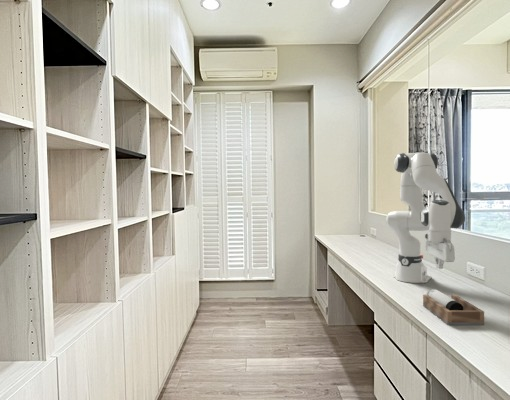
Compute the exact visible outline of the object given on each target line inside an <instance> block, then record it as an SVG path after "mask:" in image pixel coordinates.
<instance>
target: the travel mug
mask: <svg viewBox="0 0 510 400" xmlns="http://www.w3.org/2000/svg"><path fill="white" fill-rule="evenodd" d="M426 295H428V296H430V297H431V298H432V299H434V300H435V301H437V302H438V303H440V304H441V305H443V306H444V307H446V308H447V309H448V310H463V306H462V305H461V304H460V303H458V302H457V301H455V300H453V299H452V298H451V296H448V295H446V294H445V293H443V292H441V291H440V290H438V289H437V288H431V289H430V290H428V291H427V292H426Z"/></svg>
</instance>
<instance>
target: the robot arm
mask: <svg viewBox="0 0 510 400" xmlns="http://www.w3.org/2000/svg"><path fill="white" fill-rule="evenodd" d="M438 165H439V158H438V156H437V155H436V154H435V153H433V152H432V153H431V152H428V153H427V152H423V151H421V152H408V153H406V152H405V153H404V152H402V153H398V154H397V155H396V156H395V158H394V159H393V166H394V170H395V171H396V173H397V172H398V173H400V174H401V175H400V183H399V185H400V186H399V200H400V201H401V203H403V204H405V205H406V206H409V208H410V210H394V211H389V213H388V214H386V217H385V222H386V225H387V227H388V228H389V229H390V230H392V231H393V232H394V234H395V235H396V238H397V241H398V250H399V251H398V256H397V260H398V261H397V262H396V265H395V274H393V275H392V276H393V278H395V279H396V280H397V281H399V282H403V283H410V284H411V283H413V284H414V283H416V284H419V283H422V284H424V283H428V282H429V281H430V279H431V278H432V275H431V274H428V268H427V266H426V265H425V264H424V263H423V260H422V259H424V255H423V254H421V241H420V240H419V239H418V238H417V237H415V236H413V235H411V233H410V231H414V232H426V233H424V239H425V240H424V241H425V242H424V243H425V244H424V245H425V246H424V247H425V252H426V254H427V255H430V256H431V257H434V262H435V267H436V268H437V269H440V270H442V269H444V264H445V263H454V262H455V260H456V256H455V246H454V244H453V243H452V229H458V228H461V227H462V226H463V224H464V223H465V222H466V215H465V212H464V210H463V208H462V207H461V206H460V204H459V202H458V200H457V198H456V196H455V193H454V192H453V190H452V188H451V186H450V185H449V183H448V181H447V180H446V179H445V178H443V177H441V175H440V174H439V173H438V171H437V169H438ZM422 190H425V191H429V192H433V193H435V194H437V195H439V196H441V198H442V199H441V200H440V199H436V200H435V199H434V200H432V201H430V203H429V206H427V207H426V206H425V205H424V203H423V198H422ZM427 231H428V232H427Z"/></svg>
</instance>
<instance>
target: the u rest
mask: <svg viewBox="0 0 510 400" xmlns="http://www.w3.org/2000/svg"><path fill="white" fill-rule="evenodd" d="M450 295H451V296H450V298H452V299H453V300H455V301H457V302H458V303H460V304H461V305H462V306H463V310H448V309H447V308H446V307H444V306H443V305H441V304H440V303H438V302H437V301H435V300H434V299H432V298H431V297H430V296H428V295H427V294H422V306H423V307H424V308H425V309H426V310H427V311H429V312H430V313H431V314H432V315H433V316H437V317H436V318H437V319H438V320H440V319H441V320H440V321H442V322H443V323H444V324H445V325H447V326H485V311H484V310H482V309H481V308H478V307H477V306H476V305H473V304H472V303H470V302H469V301H468V300H465V299H464V298H461V296H459V295H457V294H455V293H454V294H450Z"/></svg>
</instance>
